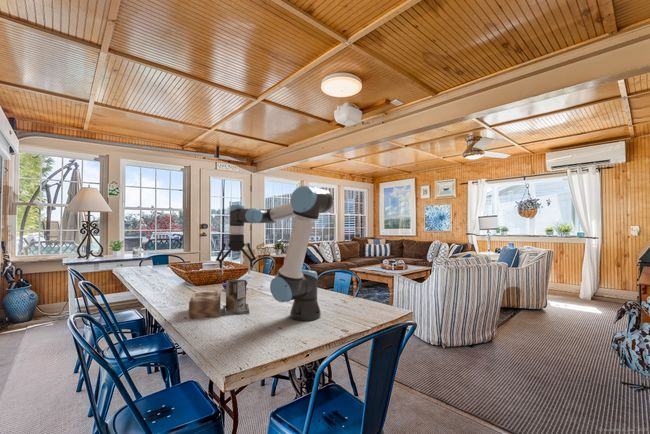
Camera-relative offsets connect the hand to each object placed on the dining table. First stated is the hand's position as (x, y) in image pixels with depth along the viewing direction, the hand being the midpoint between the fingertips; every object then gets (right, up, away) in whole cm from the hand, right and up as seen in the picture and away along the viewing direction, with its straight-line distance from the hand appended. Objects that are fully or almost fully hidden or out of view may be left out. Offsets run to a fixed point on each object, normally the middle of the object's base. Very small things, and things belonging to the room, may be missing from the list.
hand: (235, 273), depth 166 cm
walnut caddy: (-7, -19, -3) cm, 21 cm away
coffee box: (0, -20, -1) cm, 20 cm away
